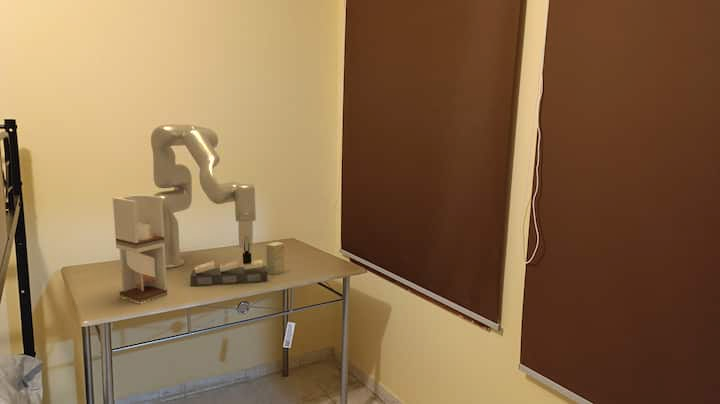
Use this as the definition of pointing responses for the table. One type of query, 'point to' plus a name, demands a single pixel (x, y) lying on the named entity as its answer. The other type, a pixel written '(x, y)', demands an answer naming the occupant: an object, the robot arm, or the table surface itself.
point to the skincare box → (275, 258)
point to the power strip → (228, 276)
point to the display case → (141, 246)
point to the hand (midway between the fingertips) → (247, 262)
